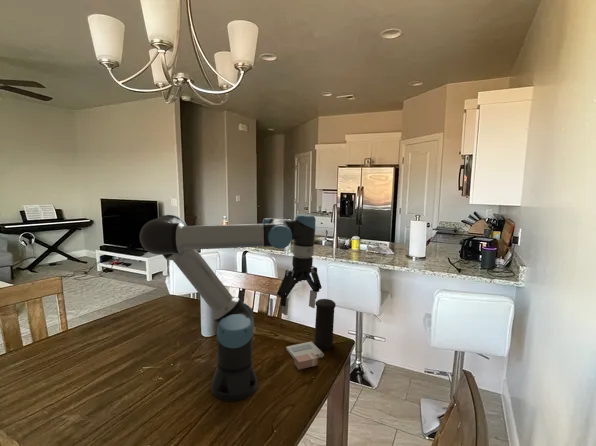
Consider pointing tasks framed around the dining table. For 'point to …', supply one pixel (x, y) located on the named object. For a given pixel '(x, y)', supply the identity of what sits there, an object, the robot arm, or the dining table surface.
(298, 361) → the pink banded block
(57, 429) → the dining table surface
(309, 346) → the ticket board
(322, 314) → the container
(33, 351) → the dining table surface
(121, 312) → the dining table surface
